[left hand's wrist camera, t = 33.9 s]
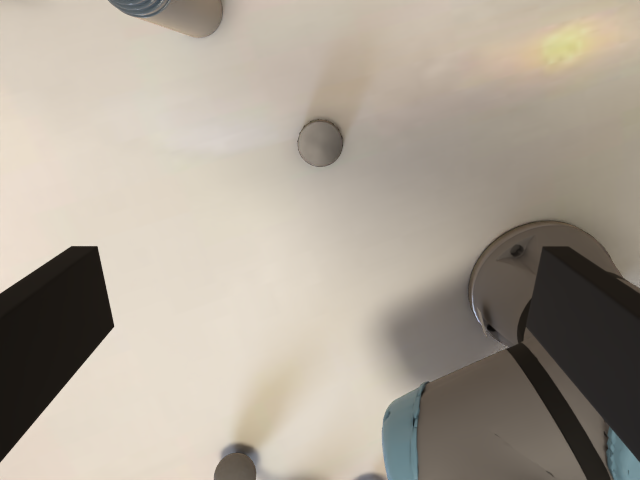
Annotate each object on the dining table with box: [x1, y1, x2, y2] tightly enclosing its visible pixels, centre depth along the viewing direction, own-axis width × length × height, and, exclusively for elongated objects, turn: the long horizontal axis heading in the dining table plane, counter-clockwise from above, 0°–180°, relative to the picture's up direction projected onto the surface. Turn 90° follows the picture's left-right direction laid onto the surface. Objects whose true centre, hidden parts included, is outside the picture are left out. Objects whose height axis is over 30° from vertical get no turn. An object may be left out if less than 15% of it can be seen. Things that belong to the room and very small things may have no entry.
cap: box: [297, 119, 343, 167], centre depth 41 cm, size 4×4×2 cm
